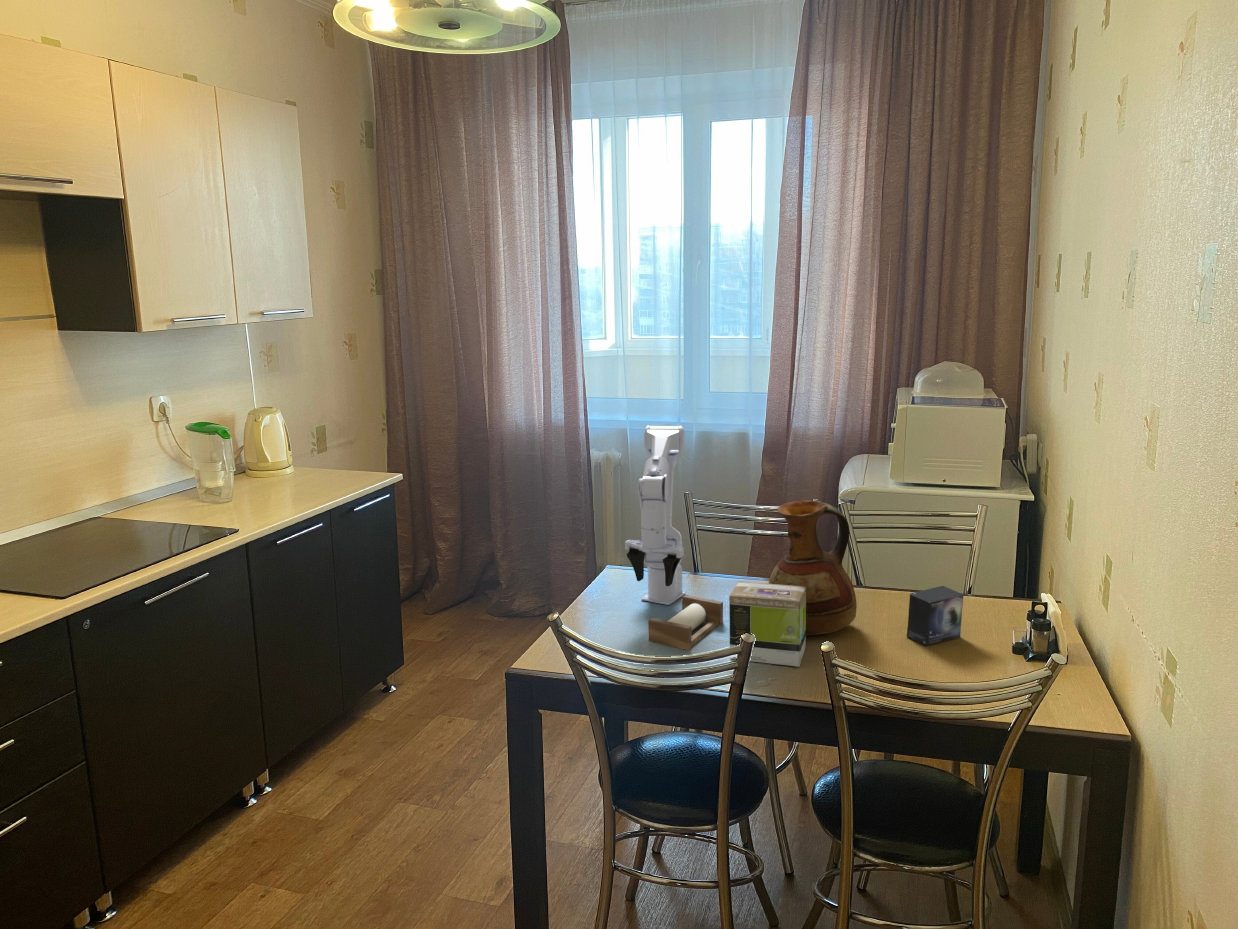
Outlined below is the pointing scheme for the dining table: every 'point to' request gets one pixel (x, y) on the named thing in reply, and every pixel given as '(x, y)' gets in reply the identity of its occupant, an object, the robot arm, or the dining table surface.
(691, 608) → the cylinder
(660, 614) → the dining table surface
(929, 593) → the small box
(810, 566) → the ceramic pitcher
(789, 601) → the tea box
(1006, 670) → the dining table surface
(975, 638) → the dining table surface
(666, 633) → the holder
